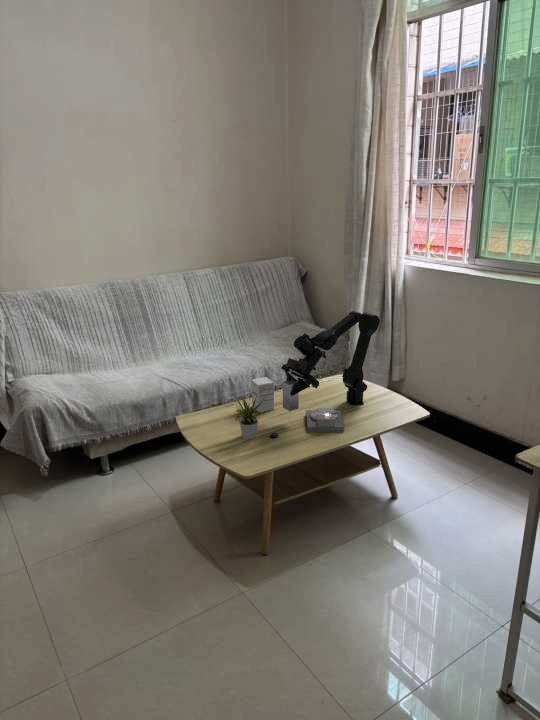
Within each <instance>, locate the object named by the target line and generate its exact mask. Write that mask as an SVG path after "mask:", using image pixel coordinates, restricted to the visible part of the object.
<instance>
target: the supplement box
mask: <svg viewBox="0 0 540 720" xmlns="http://www.w3.org/2000/svg"><path fill="white" fill-rule="evenodd" d="M274 384H275V383H274V381H272V380H271V379H270V378H268V377H267V376H265V377H259V378H253V379H251V406H253V403H254V401H255V398H256V401H255V405H254V408H255V407H256V406H257V405H258V404H259V403H260V402H262V401H264V400H265V401H264V402H262V403H261V404H260V406H259V407H258V408H257V409H256V410H255V411H261V412H260V413H264V411H265V412H269V410H270V411H274V410H275V386H274Z"/></svg>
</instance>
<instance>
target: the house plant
mask: <svg viewBox="0 0 540 720" xmlns="http://www.w3.org/2000/svg"><path fill="white" fill-rule="evenodd" d="M232 398H233V399H235V400H236V401H237V403H238V404H234V403H231V404H230V406H236V407H237V409H236V410H235V412H236V413H238V414H240V415H237V414H235V416H236V417H235V420H238V419H240V420H239V425H240V431H241V435H242V438H243V439H245V440H252V439H255V438H256V437H257V430H258V426H259V425H258V424H259V420H258V419H257V417H258V416H259V415H261V414H262V412H261V411H257V410H256V409H257V408H258V407H259V406H260V404H261V403H262V402H264V401H265V400H264V401H262V402H260V403H259V404H258V405H257V406H256V407H255V408H254V405H255V401H256V398H255V401H254V403H253V406H252V405H251V406H250V404H251V403H247V401H246V400H245V398H244V397H243V396H241V399H242V402H243V406H242V404H241V402H240V400H239V399H238V398H236V397H234V396H232ZM250 398H251V399H252V396H250V397H249V400H248V401H251V399H250ZM259 412H260V413H259ZM242 417H243V418H242Z"/></svg>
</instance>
